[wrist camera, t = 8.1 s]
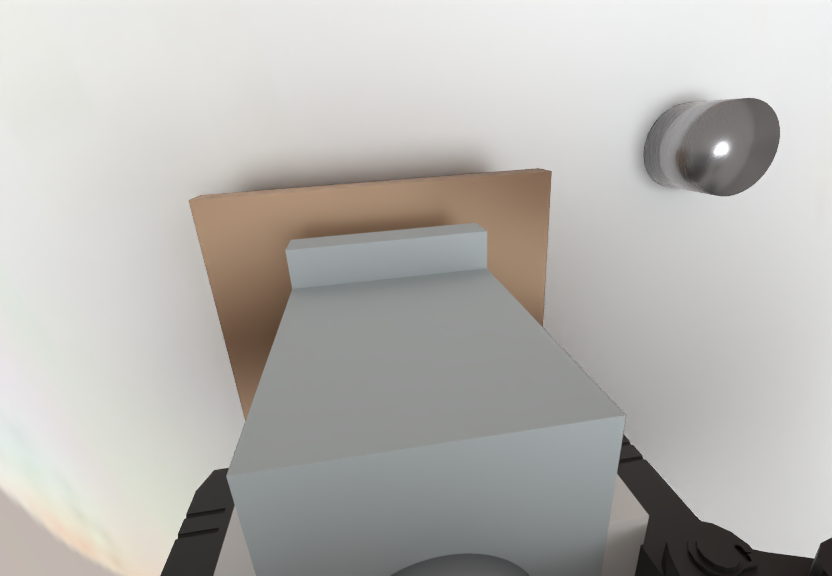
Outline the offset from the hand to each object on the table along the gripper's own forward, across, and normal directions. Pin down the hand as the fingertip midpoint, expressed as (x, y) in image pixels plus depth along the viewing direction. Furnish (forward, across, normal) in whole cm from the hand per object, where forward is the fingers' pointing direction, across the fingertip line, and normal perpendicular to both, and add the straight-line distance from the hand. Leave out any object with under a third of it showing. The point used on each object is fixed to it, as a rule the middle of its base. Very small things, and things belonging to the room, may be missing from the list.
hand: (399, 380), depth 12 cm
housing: (0, 0, 0) cm, 0 cm away
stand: (+7, 0, 0) cm, 7 cm away
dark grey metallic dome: (+7, -14, -5) cm, 17 cm away
